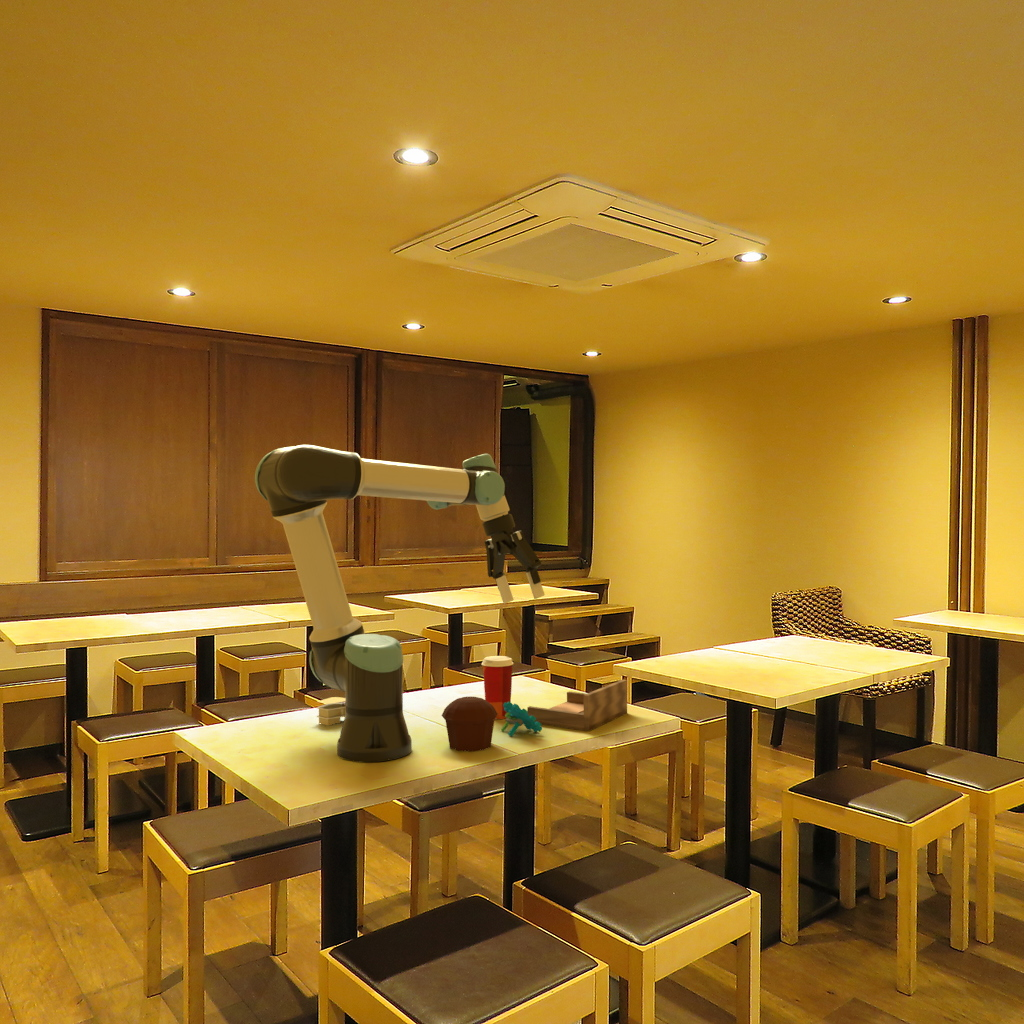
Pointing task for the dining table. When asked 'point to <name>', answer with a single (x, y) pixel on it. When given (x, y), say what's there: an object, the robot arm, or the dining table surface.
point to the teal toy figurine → (519, 718)
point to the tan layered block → (331, 710)
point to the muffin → (469, 724)
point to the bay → (585, 708)
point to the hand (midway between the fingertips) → (523, 599)
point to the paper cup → (498, 682)
